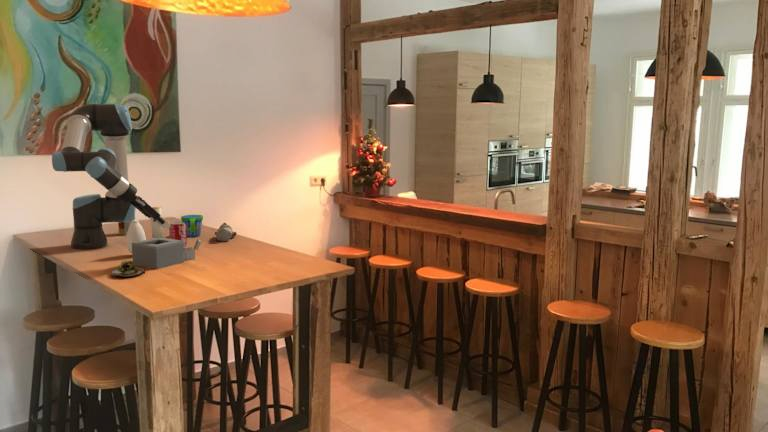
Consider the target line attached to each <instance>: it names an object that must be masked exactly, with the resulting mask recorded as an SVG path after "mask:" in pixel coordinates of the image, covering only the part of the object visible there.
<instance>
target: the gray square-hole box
mask: <svg viewBox="0 0 768 432" xmlns="http://www.w3.org/2000/svg"><path fill="white" fill-rule="evenodd" d="M131 260H132V262H133V264H132V265H134V266H137V267H139V266H140V267H142V268H143V267H144V268H148V267H149V268H150V269H155V270H159V268H160V269H163V268H167V267H171V266H173V265H177V264H182V263H184V262H185V260H184V244H183V241H182V240H175V239H170V238H167V237H162V238H149V239H148V238H147V239H146V240H143V241H138V242H133V243H132V253H131ZM149 268H148V269H149Z"/></svg>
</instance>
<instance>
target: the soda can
mask: <svg viewBox="0 0 768 432" xmlns="http://www.w3.org/2000/svg"><path fill="white" fill-rule="evenodd" d="M169 224H170V225H171V227H170V228H169V229H168V231H169V232H168V233H169V234H168V235H169V239H175V240H182V241H183V244H184V250H186V248H187V247H188V242H187V241H188V240H187V239H188V237H186V225H185V222H182V221H172V222H170V223H169Z"/></svg>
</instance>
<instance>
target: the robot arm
mask: <svg viewBox="0 0 768 432" xmlns="http://www.w3.org/2000/svg"><path fill="white" fill-rule="evenodd" d="M131 118H132V117H131V114H130V110H129V108H128V107H127V106H126V105H125V104H117V103H110V104H109V103H89V104H83V105H81V106H79V107H77V108H75V109H74V110H73V111H72V112H71V113H70V114H69V115H68V117H67V120H66V122H65V123H66V124H65V125H66V129H67V130H66V133H65V137H64V140H63V143H62V146H61V150H60V151H54V152H53V153H52V154H51V164H52V169H53V170H54V171H55V172H65V173H66V172H86V173H87V174H88V175H89V176H90V177H91V178H92V179H94V180H95V181H96V182H98V184H100V185H101V186H102V187H104V189H106V190H107V192H105V195H104V196H105V197H102V196H101V194H100V193H95V194H94V193H93V194H87V195H81V196H77V197H75V198H73V201H72V217H73V229H74V230H73V233H72V236H71V241H70V247H71V248H72V249H76V250H79V249H81V250H85V249H88V250H90V249H98V248H103V247H106V246H107V245H108V238H107V237H106V233H105V231H104V229H103V223H105V224H106V223H118V222H129V221H132V220H134V215H135V216H136V209H137V210H138V211H139V213H141V214H143V215H144V216H145V217H146V218H148V219H150V220H151V217H152V218H153V219H154V220H153V221H154V222H155V221H156V222H157V223H158V224H159V225H160V226H162V230H165V231H169V228H170V227H171V225H170V223H169V222H168V221H167V220H166V219H164V218H163V216H162V217H161V216H160V214H159V213H158V212H156V211H155V210H154V209H153V208H152V207H153V206H151V205H149V203H147V202H146V201H145V199H143V197H141V196H139V195H136V194H137V192H138V188H137V187H136V186H134V185H133V184H132V183H130V181H129V172H128V171H129V169H128V156H127V142H126V139H127V138H128V137H129V135H130V132H132V131H133V126H132V119H131ZM92 131H93V132H99V134H100V137H101V138H103V139H104V147H101V148H100V149H98V150H97V151H84V149H85V144H86V139H87V136H88V134H89V133H90V132H92Z"/></svg>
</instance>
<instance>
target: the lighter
mask: <svg viewBox="0 0 768 432" xmlns="http://www.w3.org/2000/svg"><path fill="white" fill-rule="evenodd" d="M201 244H202V240H201V239H200V240H199V239H196V242H195V244H194V246H193V247H192V246H187V248H186V250H184V261H190V260H191V261H193V260H196V251H199V249H200V246H201Z"/></svg>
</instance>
